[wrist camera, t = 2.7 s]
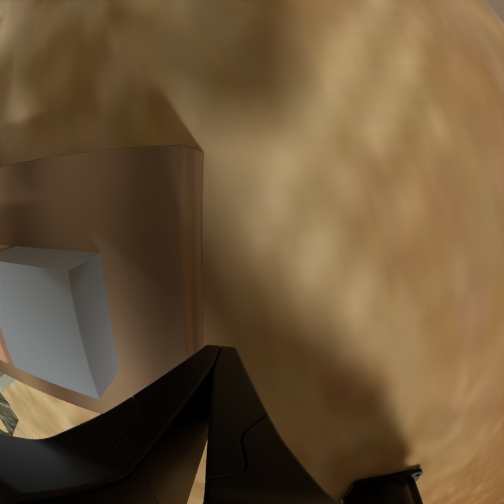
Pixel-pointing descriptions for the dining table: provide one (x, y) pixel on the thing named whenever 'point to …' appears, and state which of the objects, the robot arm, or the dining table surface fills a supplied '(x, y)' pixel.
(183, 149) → the plate
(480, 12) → the dining table surface
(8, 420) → the eiffel tower figurine
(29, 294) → the tile slate
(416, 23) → the dining table surface
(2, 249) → the tile terracotta
